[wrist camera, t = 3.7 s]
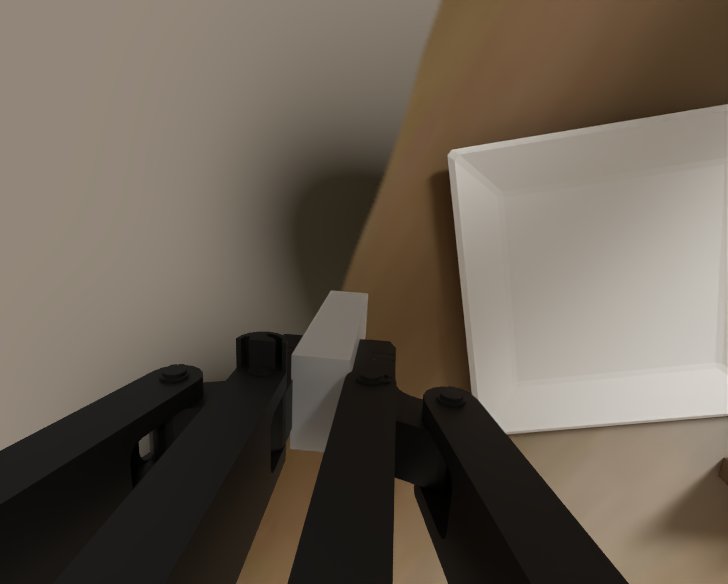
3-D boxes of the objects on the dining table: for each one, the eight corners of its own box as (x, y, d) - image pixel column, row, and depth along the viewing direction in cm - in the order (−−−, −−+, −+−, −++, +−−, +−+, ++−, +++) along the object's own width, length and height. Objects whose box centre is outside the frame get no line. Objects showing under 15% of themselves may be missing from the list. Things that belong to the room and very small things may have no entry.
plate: (472, 421, 31) (476, 438, 29) (444, 152, 26) (447, 150, 24) (757, 397, 29) (784, 413, 27) (781, 96, 24) (815, 89, 22)
